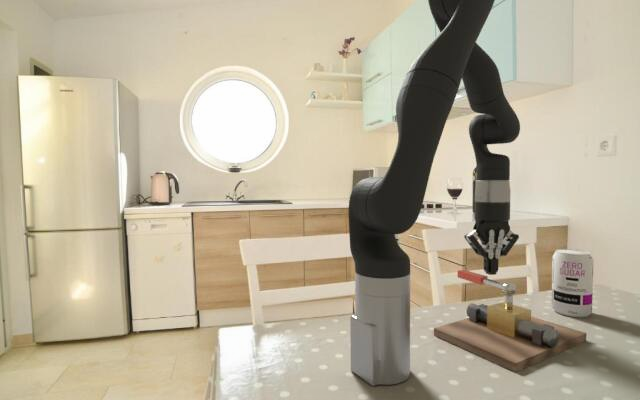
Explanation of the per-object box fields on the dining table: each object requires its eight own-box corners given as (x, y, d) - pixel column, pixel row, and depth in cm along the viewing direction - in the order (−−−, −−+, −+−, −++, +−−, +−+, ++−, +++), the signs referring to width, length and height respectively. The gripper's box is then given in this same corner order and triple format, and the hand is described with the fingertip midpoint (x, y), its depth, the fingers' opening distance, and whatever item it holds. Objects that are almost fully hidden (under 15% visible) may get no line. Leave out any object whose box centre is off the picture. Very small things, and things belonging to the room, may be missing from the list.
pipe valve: (545, 355, 68) (546, 308, 68) (462, 324, 84) (463, 285, 83) (562, 348, 71) (563, 302, 71) (479, 319, 87) (479, 281, 86)
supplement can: (578, 307, 96) (580, 248, 95) (599, 318, 87) (601, 255, 87) (545, 306, 96) (546, 248, 96) (562, 317, 88) (564, 254, 88)
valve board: (515, 372, 64) (515, 363, 64) (433, 335, 79) (433, 328, 79) (586, 340, 76) (586, 333, 76) (503, 313, 91) (503, 307, 91)
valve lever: (519, 292, 76) (519, 285, 76) (509, 294, 75) (510, 286, 75) (465, 276, 90) (465, 269, 90) (456, 277, 89) (456, 270, 89)
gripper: (474, 201, 82) (473, 279, 83) (529, 200, 84) (527, 276, 85) (457, 199, 90) (456, 271, 90) (507, 199, 92) (506, 269, 93)
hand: (490, 273), depth 88 cm, fingers closed
